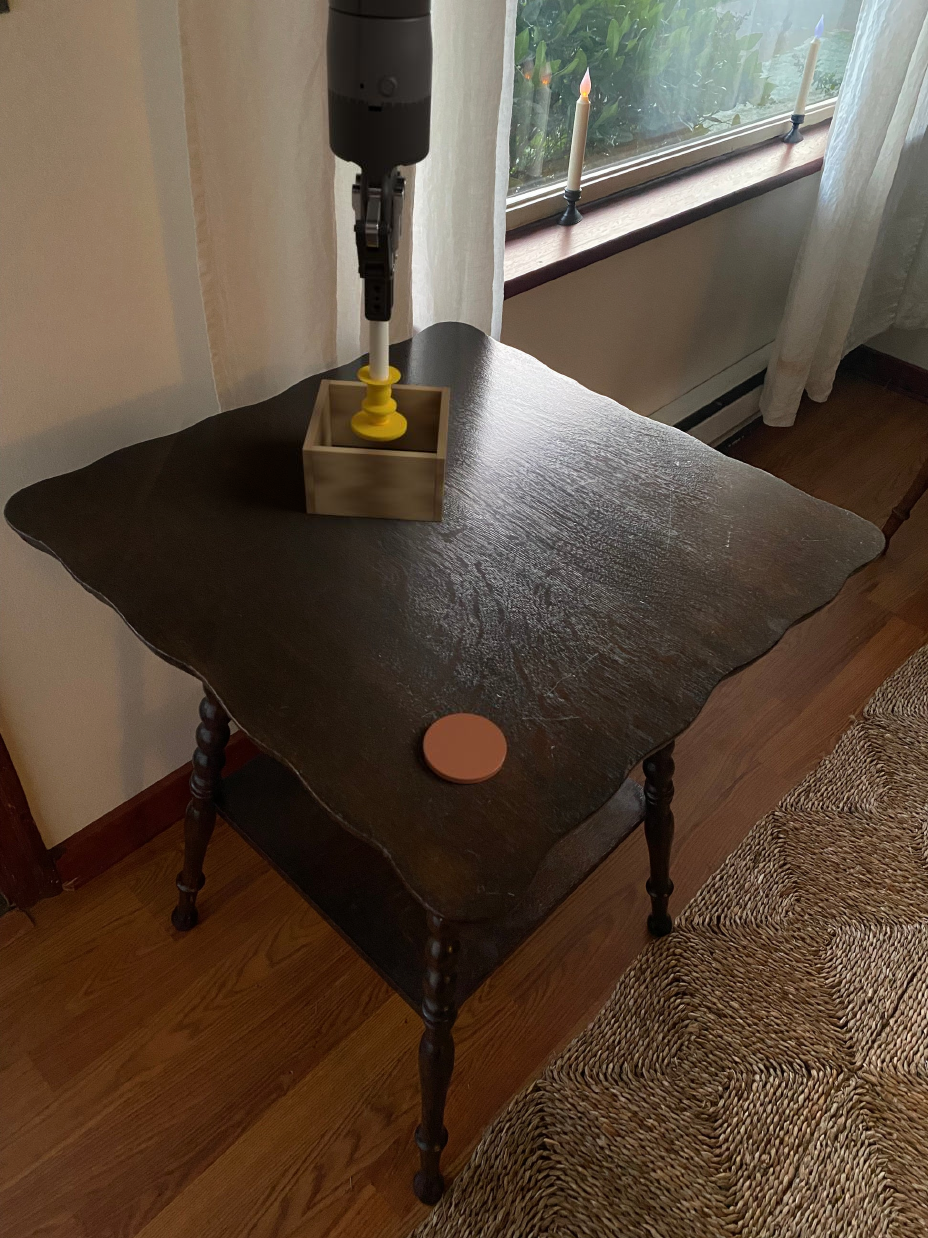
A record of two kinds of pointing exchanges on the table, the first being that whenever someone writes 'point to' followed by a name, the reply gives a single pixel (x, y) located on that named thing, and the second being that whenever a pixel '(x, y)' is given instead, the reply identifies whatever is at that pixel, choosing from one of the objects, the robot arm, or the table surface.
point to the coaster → (464, 748)
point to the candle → (378, 391)
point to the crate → (377, 455)
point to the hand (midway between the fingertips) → (379, 312)
